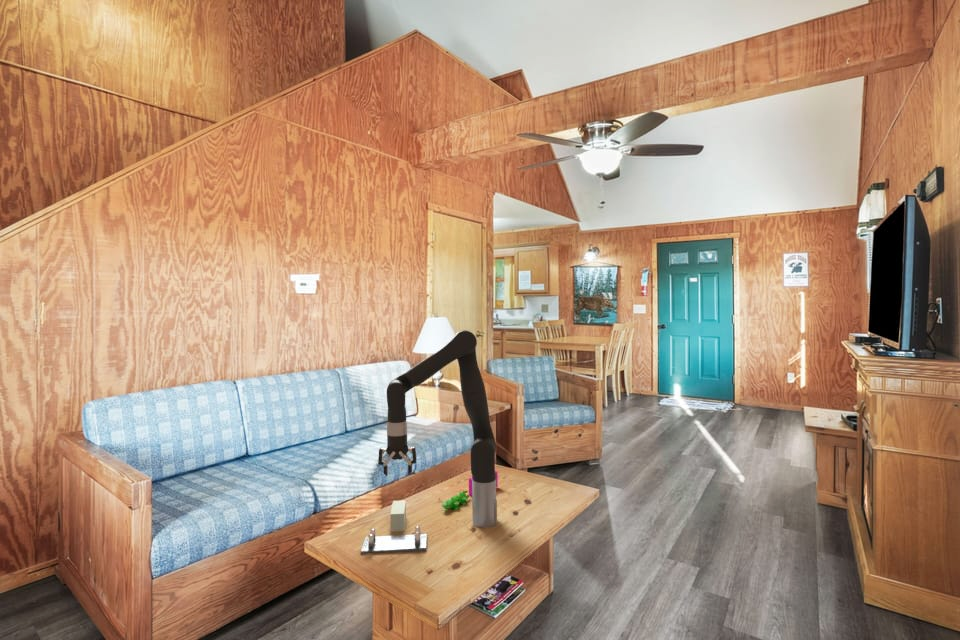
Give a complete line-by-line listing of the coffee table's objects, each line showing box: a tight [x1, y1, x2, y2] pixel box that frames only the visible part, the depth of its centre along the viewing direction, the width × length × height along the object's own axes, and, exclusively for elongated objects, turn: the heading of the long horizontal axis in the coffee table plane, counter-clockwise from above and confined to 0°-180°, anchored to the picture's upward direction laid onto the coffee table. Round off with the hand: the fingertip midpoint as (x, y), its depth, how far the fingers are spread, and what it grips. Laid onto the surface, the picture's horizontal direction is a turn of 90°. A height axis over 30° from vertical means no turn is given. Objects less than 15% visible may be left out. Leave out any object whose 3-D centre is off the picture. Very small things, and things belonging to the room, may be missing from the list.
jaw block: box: [389, 499, 407, 533], centre depth 184 cm, size 5×12×7 cm, turn 6°
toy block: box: [468, 470, 499, 497], centre depth 215 cm, size 15×6×8 cm, turn 137°
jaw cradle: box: [360, 525, 428, 555], centre depth 168 cm, size 22×10×5 cm, turn 95°
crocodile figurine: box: [441, 489, 470, 512], centre depth 202 cm, size 7×18×4 cm, turn 148°
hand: (397, 474), depth 183 cm, fingers open, 8 cm apart
